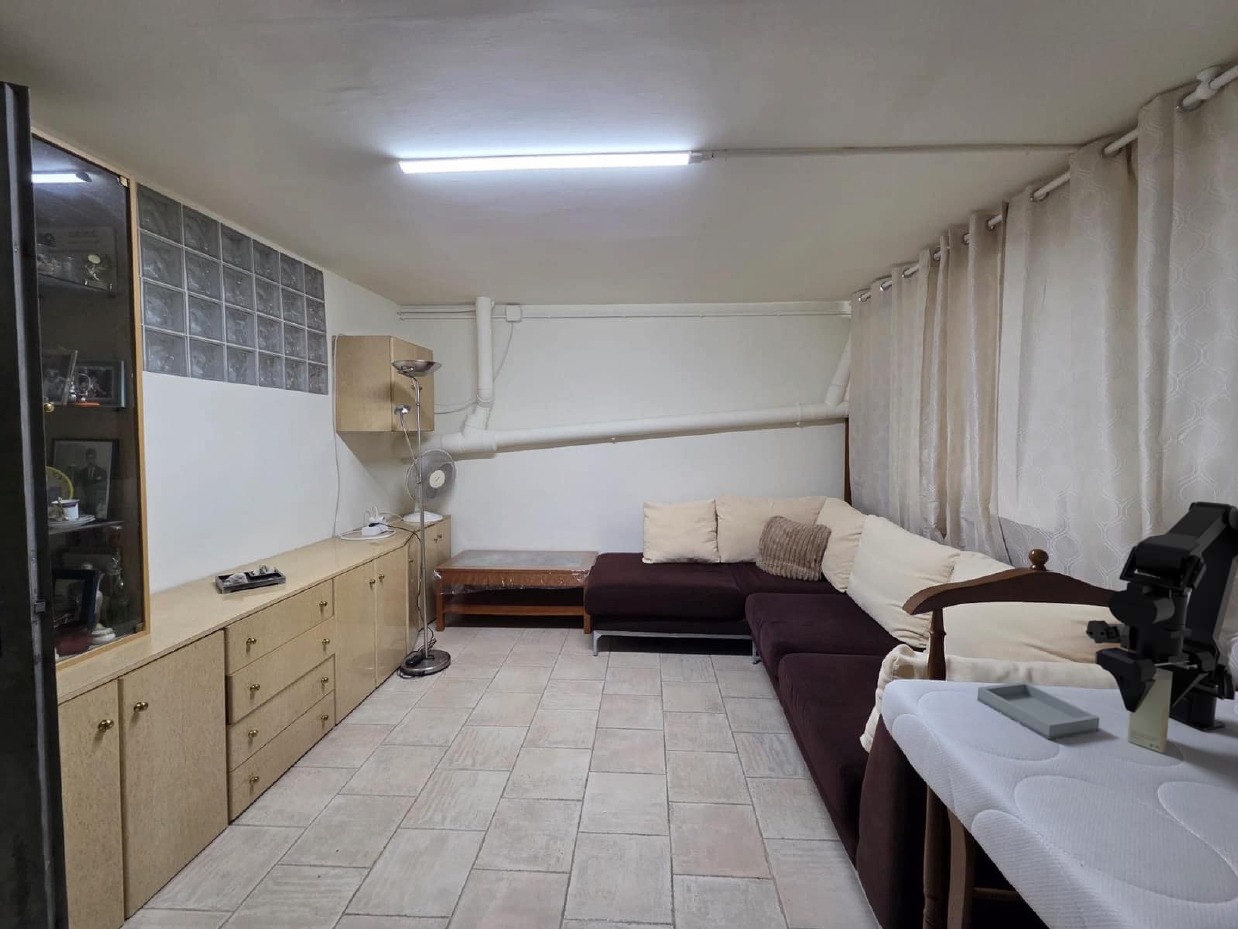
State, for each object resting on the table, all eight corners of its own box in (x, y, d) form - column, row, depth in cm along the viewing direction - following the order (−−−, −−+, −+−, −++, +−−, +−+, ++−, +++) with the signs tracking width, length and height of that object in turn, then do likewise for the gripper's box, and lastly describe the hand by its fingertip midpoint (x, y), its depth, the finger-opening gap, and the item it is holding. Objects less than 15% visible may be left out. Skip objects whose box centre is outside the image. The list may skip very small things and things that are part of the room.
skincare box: (1163, 755, 80) (1171, 682, 80) (1125, 741, 84) (1132, 671, 83) (1166, 740, 84) (1174, 671, 84) (1129, 728, 88) (1136, 661, 87)
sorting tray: (1023, 694, 98) (1024, 681, 98) (1098, 731, 86) (1099, 717, 86) (977, 700, 96) (978, 687, 95) (1048, 739, 83) (1049, 725, 83)
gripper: (1137, 599, 93) (1129, 679, 94) (1063, 604, 88) (1056, 689, 89) (1222, 621, 82) (1211, 712, 83) (1143, 629, 77) (1133, 725, 78)
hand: (1149, 708), depth 84 cm, fingers open, 9 cm apart
